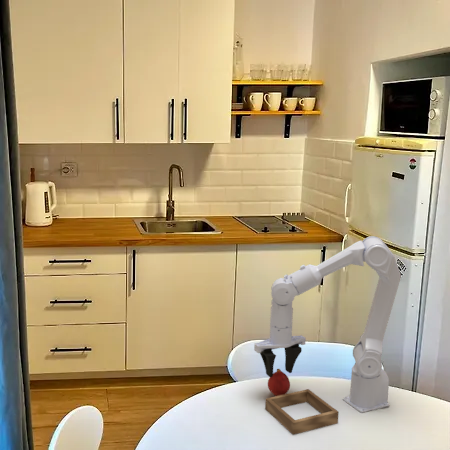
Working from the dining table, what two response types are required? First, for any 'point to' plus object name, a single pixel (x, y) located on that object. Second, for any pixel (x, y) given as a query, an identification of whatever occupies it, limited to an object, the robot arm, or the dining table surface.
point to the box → (304, 424)
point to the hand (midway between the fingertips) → (279, 373)
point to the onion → (279, 383)
